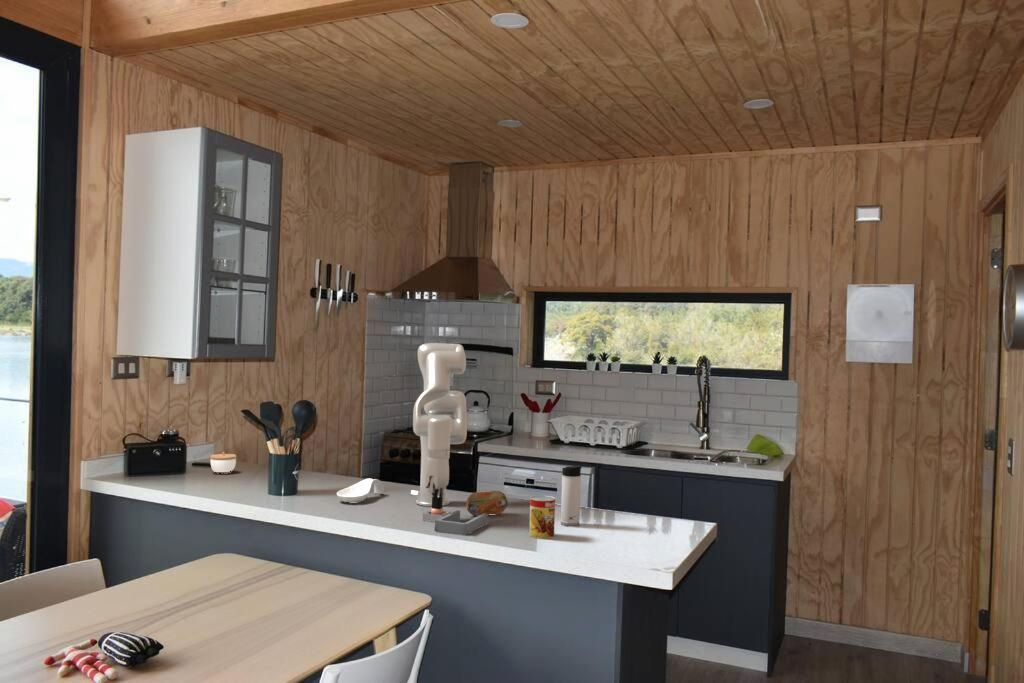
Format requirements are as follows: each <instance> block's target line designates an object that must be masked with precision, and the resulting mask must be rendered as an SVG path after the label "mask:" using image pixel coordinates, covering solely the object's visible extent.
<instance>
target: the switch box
mask: <svg viewBox="0 0 1024 683" xmlns="http://www.w3.org/2000/svg"><path fill="white" fill-rule="evenodd" d="M450 513H452V512H451V511H448V510H443V514H441V515H439V514H431V509H430V510H428V511H426V512H423V513H422V521H423V520H425V521H424V522H428V521H432V522H431V523H435V520H437V519H439V518H442V517H444V516H446V515H448V514H450Z"/></svg>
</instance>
